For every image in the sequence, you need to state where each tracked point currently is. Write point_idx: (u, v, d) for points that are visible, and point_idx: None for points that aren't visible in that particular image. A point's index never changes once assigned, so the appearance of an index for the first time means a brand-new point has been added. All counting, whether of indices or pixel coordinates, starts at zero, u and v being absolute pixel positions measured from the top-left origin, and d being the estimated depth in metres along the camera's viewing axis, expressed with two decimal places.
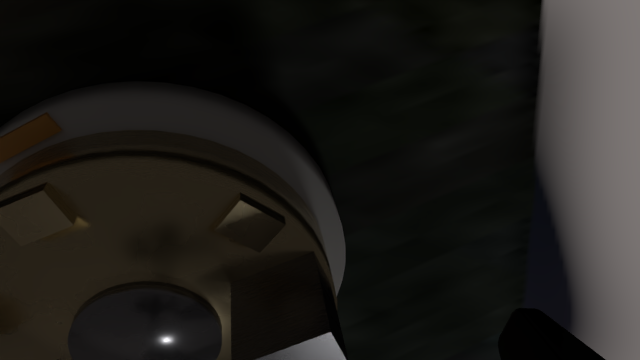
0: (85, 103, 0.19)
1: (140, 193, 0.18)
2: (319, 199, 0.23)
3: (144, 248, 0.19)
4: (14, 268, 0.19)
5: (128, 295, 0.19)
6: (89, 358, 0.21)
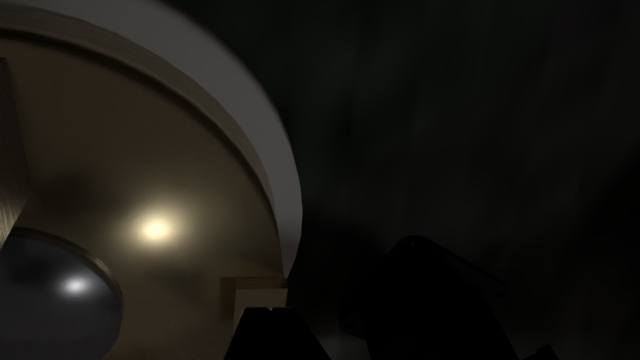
0: None
1: None
2: None
3: None
4: None
5: None
6: None
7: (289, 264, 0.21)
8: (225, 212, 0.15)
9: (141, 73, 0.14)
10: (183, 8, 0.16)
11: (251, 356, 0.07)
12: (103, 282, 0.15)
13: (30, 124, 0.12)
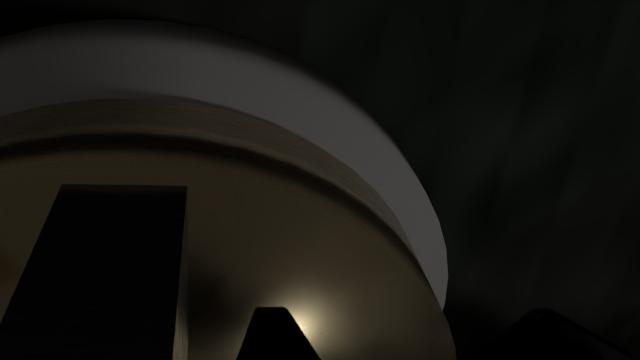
0: None
1: None
2: (105, 68, 0.11)
3: None
4: None
5: None
6: None
7: None
8: (406, 337, 0.12)
9: (321, 180, 0.11)
10: (332, 82, 0.14)
11: (264, 356, 0.07)
12: None
13: (201, 258, 0.10)
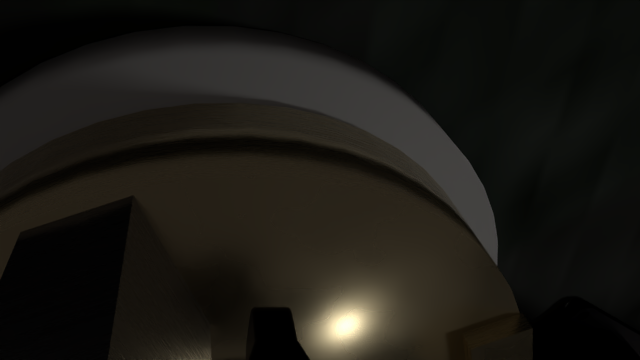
0: None
1: None
2: (200, 74, 0.11)
3: None
4: None
5: None
6: None
7: None
8: (435, 269, 0.11)
9: (283, 142, 0.10)
10: (395, 83, 0.14)
11: (276, 356, 0.07)
12: None
13: (185, 257, 0.10)
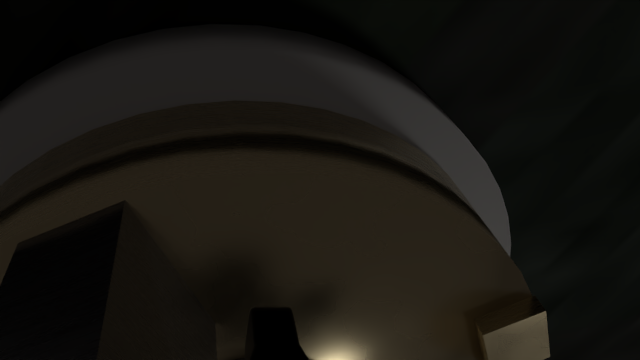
0: None
1: None
2: (404, 111, 0.13)
3: None
4: None
5: None
6: None
7: None
8: (439, 256, 0.11)
9: (274, 137, 0.10)
10: None
11: (277, 356, 0.07)
12: None
13: (183, 258, 0.10)
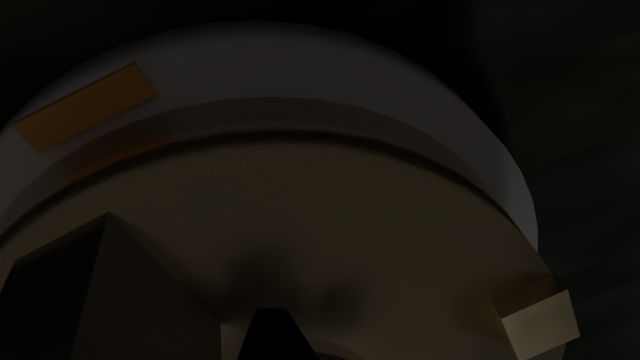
0: (199, 49, 0.11)
1: None
2: (520, 213, 0.15)
3: None
4: None
5: None
6: None
7: None
8: (443, 241, 0.11)
9: (258, 134, 0.10)
10: None
11: (265, 356, 0.07)
12: None
13: (177, 263, 0.10)
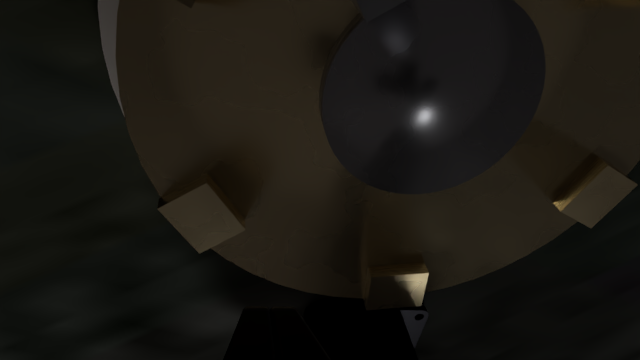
0: None
1: (157, 105, 0.13)
2: None
3: (254, 99, 0.13)
4: (293, 230, 0.16)
5: (328, 125, 0.14)
6: (447, 171, 0.15)
7: None
8: None
9: None
10: None
11: (251, 356, 0.07)
12: (515, 2, 0.12)
13: None
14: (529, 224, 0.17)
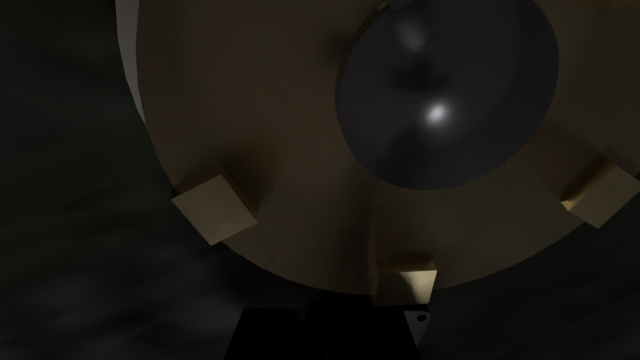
0: None
1: (174, 95, 0.13)
2: None
3: (270, 91, 0.13)
4: (304, 224, 0.16)
5: (344, 119, 0.14)
6: (459, 168, 0.15)
7: None
8: None
9: None
10: None
11: (251, 356, 0.07)
12: None
13: None
14: (537, 223, 0.18)
